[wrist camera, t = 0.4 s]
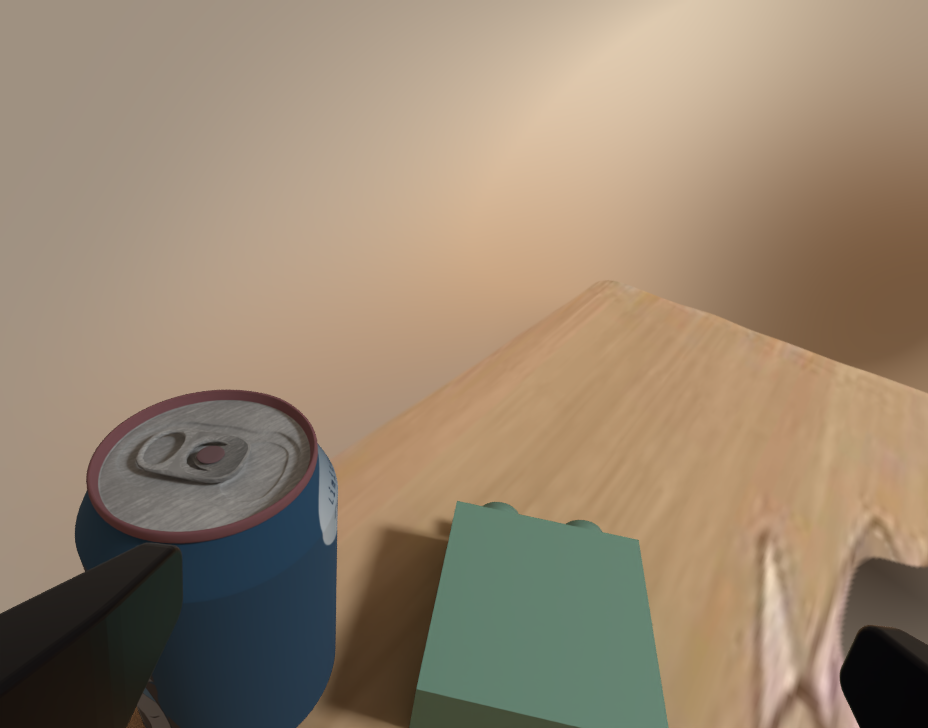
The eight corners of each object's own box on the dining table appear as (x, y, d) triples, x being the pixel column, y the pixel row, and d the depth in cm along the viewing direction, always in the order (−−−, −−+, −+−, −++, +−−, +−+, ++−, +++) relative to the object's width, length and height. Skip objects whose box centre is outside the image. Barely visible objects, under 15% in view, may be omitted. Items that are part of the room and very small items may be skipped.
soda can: (354, 609, 24) (365, 397, 18) (300, 796, 18) (286, 580, 12) (203, 583, 24) (159, 362, 18) (100, 761, 18) (-23, 527, 12)
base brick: (643, 784, 20) (671, 749, 18) (409, 728, 20) (416, 688, 19) (617, 558, 28) (635, 521, 27) (453, 522, 29) (460, 483, 27)
